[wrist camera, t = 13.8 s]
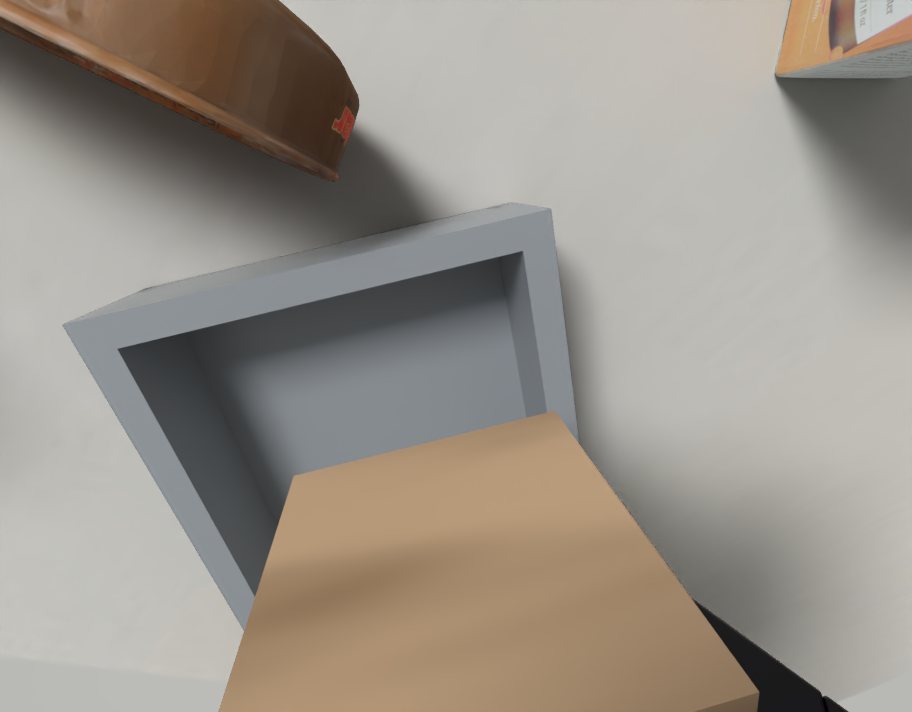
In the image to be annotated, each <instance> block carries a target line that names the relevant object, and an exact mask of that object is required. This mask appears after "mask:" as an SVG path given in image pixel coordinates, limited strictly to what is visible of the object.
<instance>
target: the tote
mask: <svg viewBox="0 0 912 712" xmlns="http://www.w3.org/2000/svg"><path fill="white" fill-rule="evenodd" d="M63 327H64V329H65V330H66V332H67V334H68V335H69V337H70V339H71V341H72V342H73V344H74V346H75V347H76V349H77V351H78V352H79V354H80V356H81V357H82V359H83V361H84V362H85V364H86V366H87V367H88V369H89V371H90V373H91V374H92V376H93V378H94V379H95V381H96V383H97V384H98V386H99V388H100V389H101V391H102V393H103V394H104V396H105V398H106V399H107V401H108V403H109V404H110V406H111V408H112V410H113V411H114V413H115V415H116V416H117V418H118V420H119V421H120V423H121V425H122V426H123V428H124V430H125V431H126V433H127V435H128V436H129V438H130V440H131V441H132V443H133V445H134V447H135V448H136V450H137V452H138V453H139V455H140V457H141V458H142V460H143V462H144V463H145V465H146V467H147V468H148V470H149V472H150V473H151V475H152V477H153V479H154V480H155V482H156V484H157V485H158V487H159V489H160V490H161V492H162V494H163V495H164V497H165V499H166V500H167V502H168V504H169V505H170V507H171V509H172V510H173V512H174V514H175V516H176V517H177V519H178V521H179V522H180V524H181V526H182V527H183V529H184V531H185V532H186V534H187V536H188V537H189V539H190V541H191V542H192V544H193V546H194V547H195V549H196V551H197V553H198V554H199V556H200V558H201V559H202V561H203V563H204V564H205V566H206V568H207V569H208V571H209V573H210V574H211V576H212V578H213V579H214V581H215V583H216V585H217V586H218V588H219V590H220V591H221V593H222V595H223V596H224V598H225V600H226V601H227V603H228V605H229V606H230V608H231V610H232V611H233V613H234V615H235V616H236V618H237V620H238V622H239V623H240V625H241V627H242V628H243V630H245V627H246V624H247V621H248V618H249V615H250V612H251V609H252V605H253V602H254V599H255V596H256V593H257V590H258V587H259V583H260V580H261V577H262V574H263V571H264V568H265V565H266V561H267V558H268V555H269V552H270V549H271V546H272V543H273V540H274V536H275V533H276V530H277V527H278V524H279V521H280V518H281V514H282V511H283V508H284V505H285V502H286V499H287V496H288V492H289V489H290V486H291V483H292V480H293V477H294V476H295V475H299V474H304V473H308V472H312V471H316V470H320V469H324V468H328V467H332V466H336V465H340V464H344V463H348V462H352V461H356V460H360V459H364V458H368V457H372V456H376V455H380V454H384V453H388V452H392V451H396V450H400V449H404V448H408V447H412V446H416V445H420V444H424V443H428V442H432V441H436V440H440V439H444V438H448V437H452V436H456V435H460V434H464V433H468V432H472V431H476V430H480V429H484V428H488V427H492V426H496V425H500V424H504V423H508V422H512V421H516V420H520V419H524V418H528V417H532V416H536V415H540V414H544V413H548V412H552V411H556V413H557V414H558V416H559V417H560V418H561V420H562V421H563V422H564V424H565V425H566V427H567V428H568V429H569V431H570V432H571V433H572V435H573V436H574V438H575V439H576V440H577V442H578V443H579V437H578V429H577V421H576V412H575V404H574V396H573V387H572V379H571V371H570V362H569V354H568V346H567V337H566V329H565V321H564V312H563V304H562V296H561V287H560V279H559V271H558V262H557V254H556V246H555V238H554V229H553V221H552V213H551V209H550V208H544V207H537V206H531V205H524V204H518V203H512V202H511V203H507V204H503V205H498V206H494V207H490V208H486V209H481V210H477V211H473V212H469V213H464V214H460V215H456V216H452V217H447V218H443V219H439V220H435V221H430V222H426V223H422V224H418V225H413V226H409V227H405V228H401V229H396V230H392V231H388V232H384V233H379V234H375V235H371V236H367V237H362V238H358V239H354V240H350V241H345V242H341V243H337V244H333V245H328V246H324V247H320V248H316V249H311V250H307V251H303V252H299V253H294V254H290V255H286V256H282V257H277V258H273V259H269V260H265V261H261V262H256V263H252V264H248V265H244V266H239V267H235V268H231V269H227V270H222V271H218V272H214V273H210V274H205V275H201V276H197V277H193V278H188V279H184V280H180V281H176V282H171V283H167V284H163V285H159V286H154V287H150V288H146V289H143V290H141V291H139V292H137V293H134V294H132V295H130V296H127V297H125V298H123V299H120V300H118V301H116V302H113V303H111V304H109V305H106V306H104V307H102V308H100V309H97V310H95V311H93V312H90V313H88V314H86V315H83V316H81V317H79V318H76V319H74V320H72V321H69V322H67V323H65V324H63Z"/></svg>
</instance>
